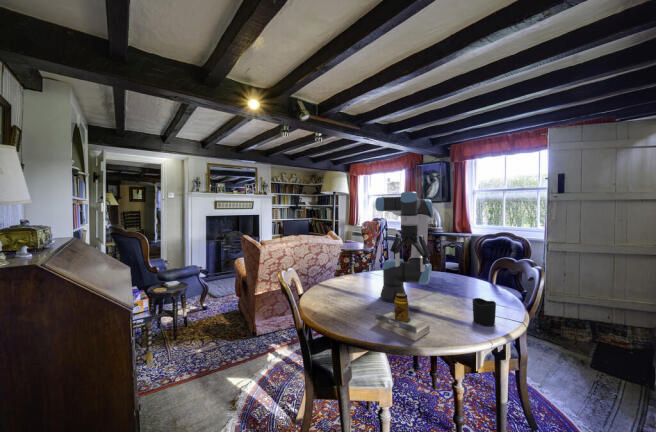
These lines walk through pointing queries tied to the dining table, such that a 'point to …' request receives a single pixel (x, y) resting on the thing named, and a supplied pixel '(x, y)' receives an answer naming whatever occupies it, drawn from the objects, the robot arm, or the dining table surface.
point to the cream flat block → (402, 326)
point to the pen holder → (484, 312)
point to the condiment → (401, 308)
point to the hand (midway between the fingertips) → (409, 268)
